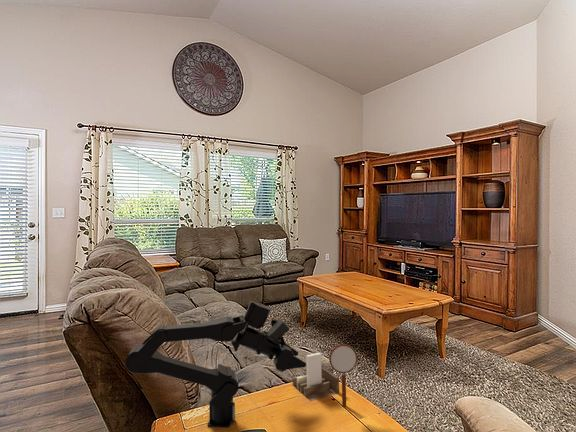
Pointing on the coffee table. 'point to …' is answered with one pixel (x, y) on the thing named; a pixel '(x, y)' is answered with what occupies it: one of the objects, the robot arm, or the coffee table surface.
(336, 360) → the magnifying glass
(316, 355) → the white flat board
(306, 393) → the offcut rack
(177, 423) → the coffee table surface
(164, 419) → the coffee table surface
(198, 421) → the coffee table surface
